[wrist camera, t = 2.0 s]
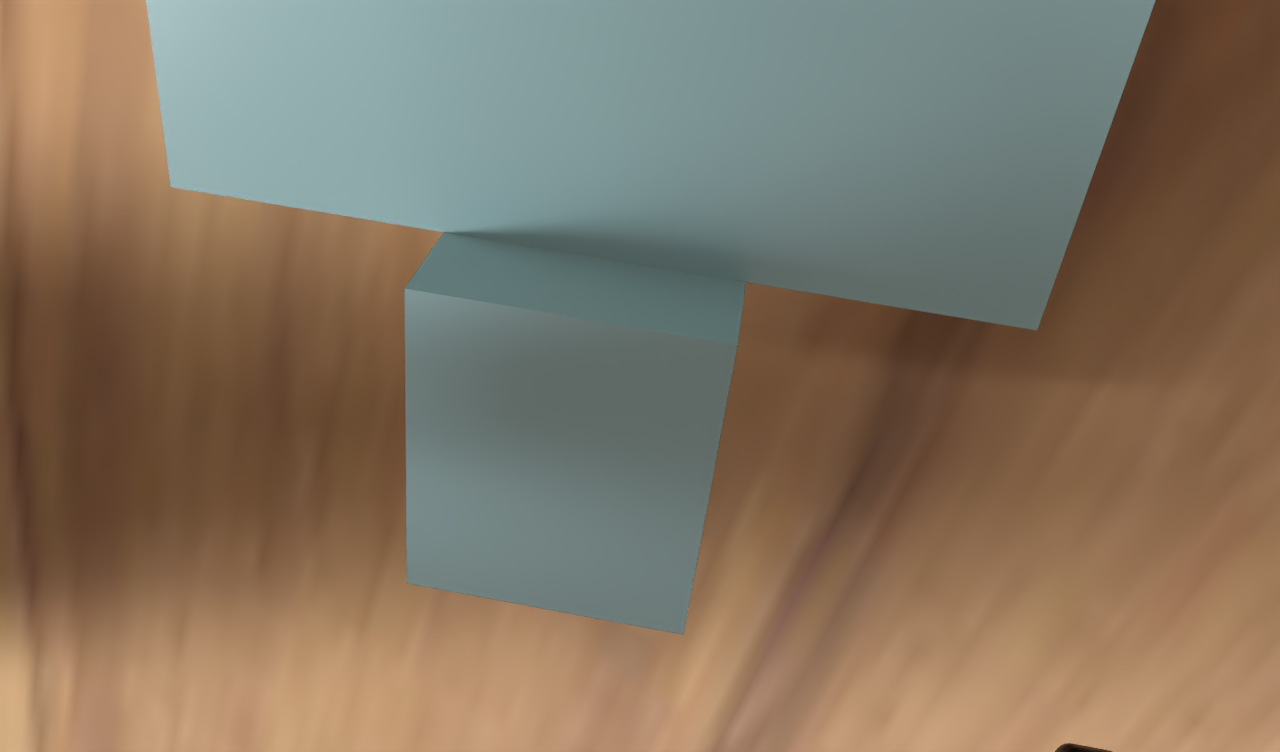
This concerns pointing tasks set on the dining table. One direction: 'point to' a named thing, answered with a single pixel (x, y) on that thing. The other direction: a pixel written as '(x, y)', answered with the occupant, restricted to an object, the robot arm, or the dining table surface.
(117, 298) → the dining table surface
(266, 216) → the dining table surface
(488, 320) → the lid
